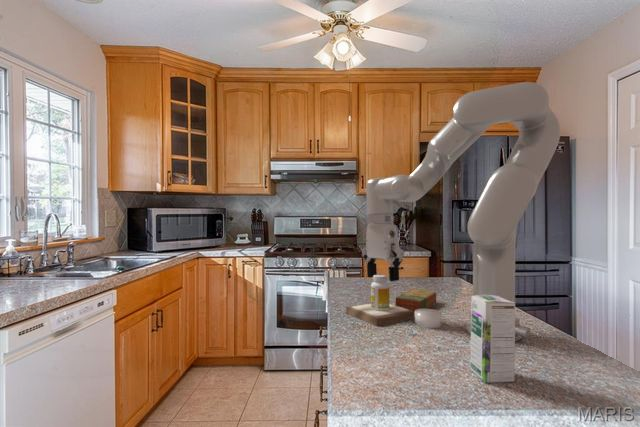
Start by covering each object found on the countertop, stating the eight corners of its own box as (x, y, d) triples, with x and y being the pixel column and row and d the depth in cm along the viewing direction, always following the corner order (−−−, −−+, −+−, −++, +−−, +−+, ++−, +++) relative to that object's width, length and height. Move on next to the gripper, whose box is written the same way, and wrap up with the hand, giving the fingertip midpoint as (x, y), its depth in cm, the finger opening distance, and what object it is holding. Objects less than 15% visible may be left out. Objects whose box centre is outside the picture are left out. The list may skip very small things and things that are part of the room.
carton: (436, 303, 122) (436, 291, 122) (420, 314, 109) (420, 300, 109) (413, 300, 127) (413, 287, 127) (394, 310, 114) (394, 296, 114)
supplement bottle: (392, 307, 107) (392, 275, 107) (385, 312, 102) (385, 277, 102) (375, 305, 110) (375, 273, 110) (367, 309, 105) (367, 276, 105)
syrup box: (469, 369, 70) (469, 294, 70) (498, 368, 70) (498, 294, 70) (484, 383, 64) (484, 302, 64) (516, 382, 64) (516, 301, 64)
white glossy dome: (447, 326, 97) (447, 313, 97) (428, 330, 93) (428, 317, 93) (427, 319, 103) (427, 307, 103) (409, 323, 99) (409, 310, 99)
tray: (414, 318, 104) (414, 310, 104) (376, 326, 97) (376, 317, 97) (382, 307, 116) (381, 300, 116) (346, 313, 108) (346, 306, 108)
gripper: (411, 219, 101) (413, 280, 100) (371, 220, 115) (373, 274, 115) (390, 220, 97) (393, 284, 96) (352, 221, 111) (354, 276, 111)
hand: (382, 278), depth 106 cm, fingers open, 9 cm apart
